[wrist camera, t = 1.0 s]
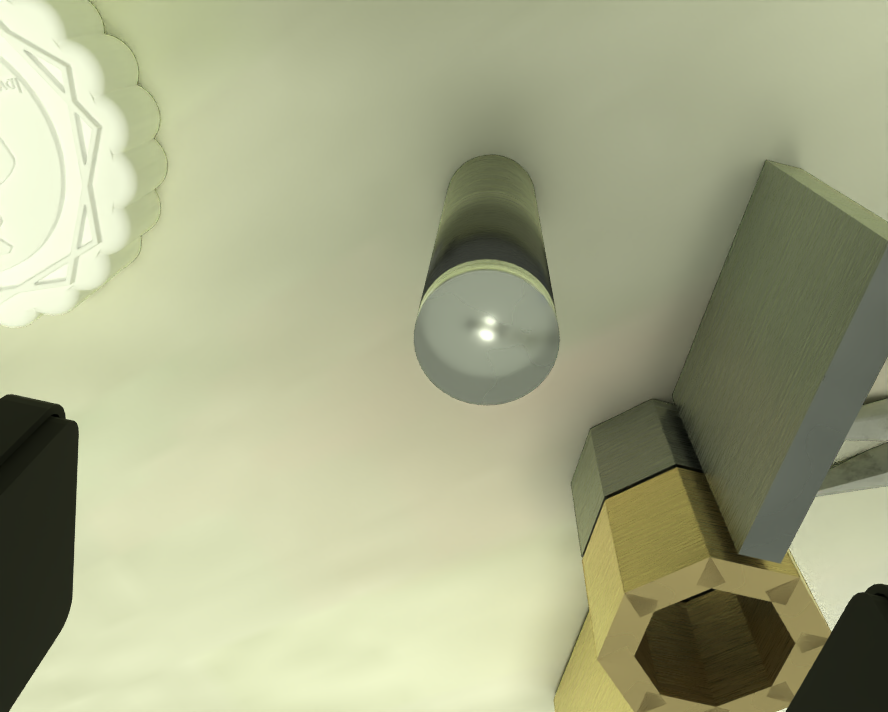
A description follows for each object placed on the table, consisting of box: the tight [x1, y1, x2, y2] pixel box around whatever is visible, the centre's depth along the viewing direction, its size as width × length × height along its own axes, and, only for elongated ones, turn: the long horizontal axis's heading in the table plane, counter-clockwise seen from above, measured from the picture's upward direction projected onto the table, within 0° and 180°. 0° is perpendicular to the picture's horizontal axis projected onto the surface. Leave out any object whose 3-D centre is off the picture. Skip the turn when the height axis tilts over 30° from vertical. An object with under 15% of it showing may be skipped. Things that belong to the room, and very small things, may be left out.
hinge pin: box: [414, 155, 560, 405], centre depth 22 cm, size 3×3×12 cm
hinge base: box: [571, 160, 888, 603], centre depth 26 cm, size 6×16×9 cm, turn 167°
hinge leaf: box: [554, 467, 831, 712], centre depth 29 cm, size 6×16×9 cm, turn 167°
